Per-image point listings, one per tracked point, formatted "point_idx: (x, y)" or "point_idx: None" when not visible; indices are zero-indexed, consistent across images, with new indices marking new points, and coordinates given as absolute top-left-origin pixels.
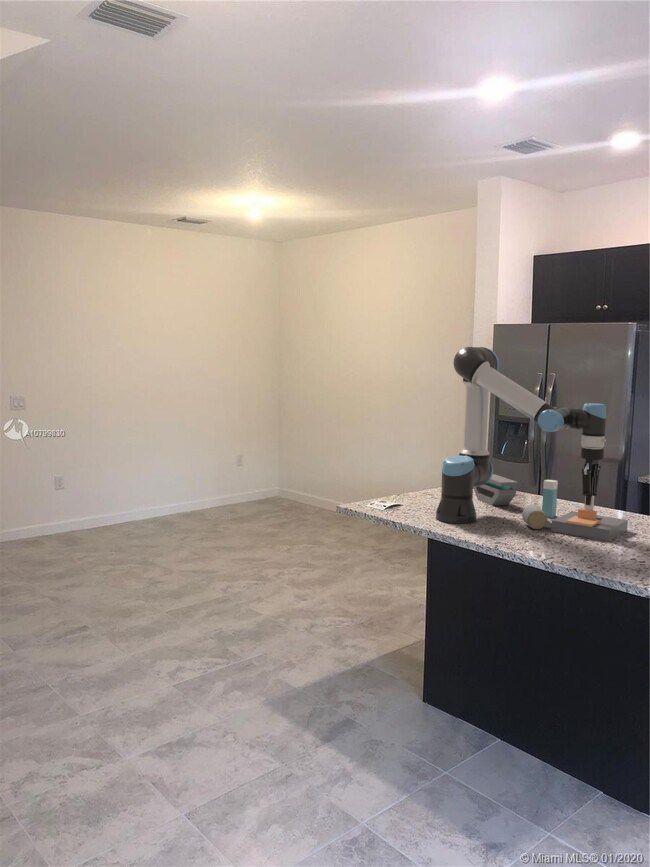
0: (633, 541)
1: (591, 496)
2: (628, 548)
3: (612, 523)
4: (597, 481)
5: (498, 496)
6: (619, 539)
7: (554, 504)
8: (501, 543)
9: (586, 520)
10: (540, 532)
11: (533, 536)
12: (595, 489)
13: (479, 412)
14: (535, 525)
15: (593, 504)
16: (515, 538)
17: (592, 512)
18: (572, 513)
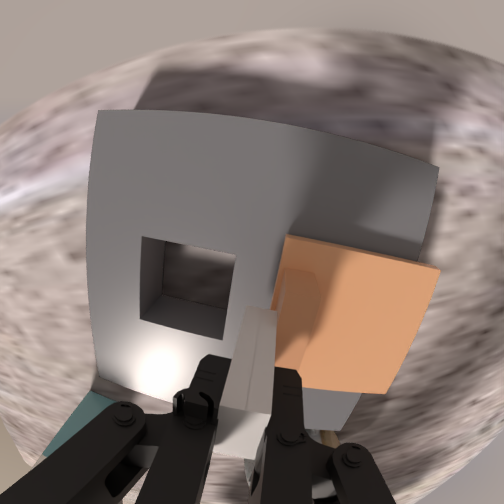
0: (338, 60)
1: (269, 423)
2: (465, 93)
3: (247, 163)
4: (46, 499)
5: (121, 500)
6: (338, 120)
7: (84, 425)
8: (490, 422)
9: (346, 317)
10: (364, 415)
11: (423, 411)
12: (131, 444)
13: None
14: (337, 443)
15: (242, 348)
16: (450, 427)
17: (315, 315)
18: (135, 379)
